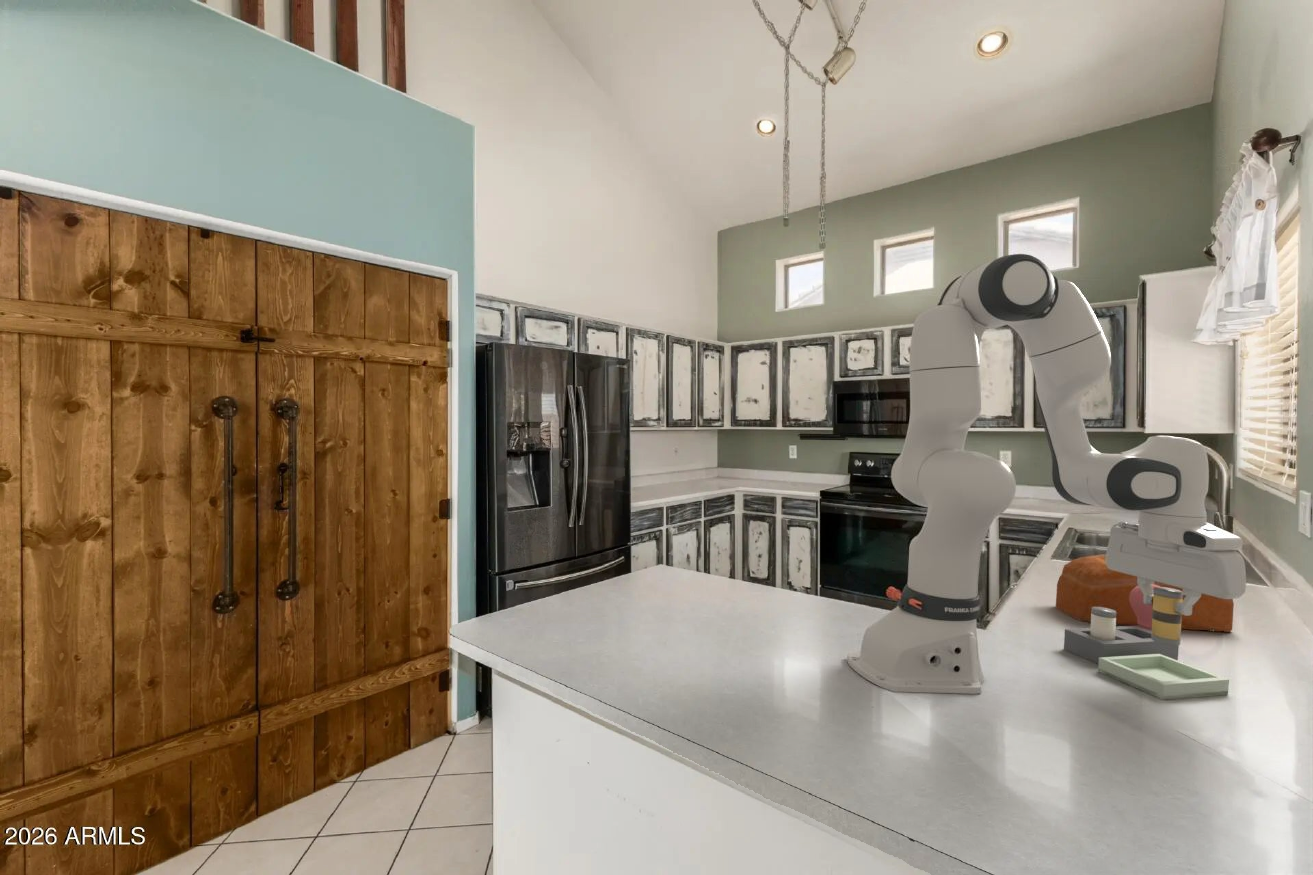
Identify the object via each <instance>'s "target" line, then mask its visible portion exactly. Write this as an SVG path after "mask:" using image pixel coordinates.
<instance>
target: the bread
mask: <svg viewBox="0 0 1313 875" xmlns="http://www.w3.org/2000/svg"><path fill="white" fill-rule="evenodd" d="M1105 560H1106V554H1097V555H1089V556H1084V557H1083V556H1081V557H1078V558H1076V559H1073V560H1071V561H1069V562H1068V563H1066V564H1064V565H1063V568H1062V572H1061V574H1060V576H1059V578H1058V580H1057V583H1056V596H1055V597H1056V598H1055V608H1056V609H1057V610H1058V611H1061V613H1063V614H1066V615H1067V616H1070V617H1072V618H1074V619H1077V620H1079V621H1082V622H1087V623H1088V622H1089V623H1091V611H1092V607H1103V608H1108V609H1112V610H1115V611H1116V625H1119V626H1138V625H1139V624H1138V623H1137V620H1138V619H1137V616H1136V614H1135V613H1134V611H1133V609H1132V606H1131V604H1130V601H1129V596H1130V593H1131V591H1132V590H1133V589H1134V588H1135V587H1136V586H1138V583H1137V577H1136V576H1133V575H1129V574H1125V573H1121V572H1117V571H1113V570H1110V569H1109V568H1108V567H1107V565H1106V563H1105ZM1154 585H1158V586H1160V587H1166V588H1172V589H1177V590H1180V591H1182V592H1183V588H1179V587H1175V586H1172V585H1168V584H1164V583H1160V582H1156V581H1154ZM1185 597H1186V595H1183V598H1182V601H1183V600H1184V598H1185ZM1234 603H1235V602H1234V599H1222V598H1218V597H1214V596H1211V595H1207V594H1203V593H1201V597H1200V598H1199V600H1198V601H1197V602H1196V603H1195V604H1194V605H1193V606H1192V614H1191V615H1189V616H1185V615H1182V621H1181V630H1191V631H1201V630H1214V631H1224V632H1223V633H1230V632H1232V631H1233V625H1234V624H1233V623H1234V609H1235V608H1234ZM1214 631H1213V632H1214Z"/></svg>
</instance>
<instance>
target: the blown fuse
mask: <svg viewBox="0 0 1313 875" xmlns="http://www.w3.org/2000/svg"><path fill="white" fill-rule="evenodd" d="M1182 598H1183V592H1182V591H1180V590H1177V589H1172V588H1166V587H1154V592H1153V610H1152V633H1151V639H1152V640H1154V641H1156V642H1159V643H1162V644H1167V645H1179V646H1180V645H1181V637H1182V636H1181V635H1182V634H1181V633H1182V632H1181V631H1182V629H1181V621H1182V615H1181V614H1178V613H1176V612H1175V609H1176V608H1175V603H1181V602H1182Z"/></svg>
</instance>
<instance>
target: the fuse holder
mask: <svg viewBox="0 0 1313 875" xmlns="http://www.w3.org/2000/svg"><path fill="white" fill-rule="evenodd" d="M1090 629H1091V627H1082V628H1081V627H1080V628H1079V627H1077V628H1065V629H1064V639H1063V640H1064V642H1063V644H1064V645H1063V650H1065V651H1067V652H1070V653H1072V654H1075V655H1077V656H1078V657H1079V656H1080V657H1082V658H1083V659H1087V660H1089V661H1091V662H1093V663H1096V664H1097V665H1098V664H1099V658H1100V657H1116V656H1131V655H1147V654H1161V655H1164V656H1167V657H1169V658H1172V659H1175V660H1178V661H1179V649H1180V648H1179V647H1180V645H1167V644H1162V643H1159V642H1156V641H1154V640H1152V639H1151V633H1152V631H1151V630H1148V629H1145V628H1142V627H1139V626H1134V625H1119V626H1117V625H1116V628H1115V640H1110V641H1104V640H1102V639H1099V638H1096V637H1094V636H1091V635H1090Z"/></svg>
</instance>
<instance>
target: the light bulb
mask: <svg viewBox="0 0 1313 875" xmlns="http://www.w3.org/2000/svg"><path fill="white" fill-rule="evenodd" d="M1151 586H1152V588H1153V590H1154V587H1160V586H1158V585H1154V584H1151ZM1143 597H1144V594H1143V593H1142V591H1141V589H1140V587H1139V585H1138V586H1136V587H1135V588H1134V589H1133V590H1132V591H1131V593H1130V596H1129V601H1130V604H1131V606H1132V609H1133V611H1134V613H1135V614H1136V616H1137V619H1138V620H1137V623H1138V624H1139V625H1138V626H1139V627H1142V628H1145V629H1148V630H1151V631H1152V610H1153V606H1151V605H1148V604H1145V603H1144V602H1143Z"/></svg>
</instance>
